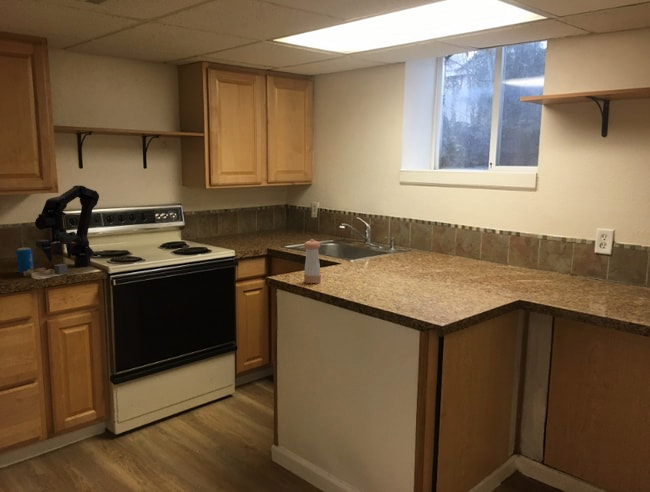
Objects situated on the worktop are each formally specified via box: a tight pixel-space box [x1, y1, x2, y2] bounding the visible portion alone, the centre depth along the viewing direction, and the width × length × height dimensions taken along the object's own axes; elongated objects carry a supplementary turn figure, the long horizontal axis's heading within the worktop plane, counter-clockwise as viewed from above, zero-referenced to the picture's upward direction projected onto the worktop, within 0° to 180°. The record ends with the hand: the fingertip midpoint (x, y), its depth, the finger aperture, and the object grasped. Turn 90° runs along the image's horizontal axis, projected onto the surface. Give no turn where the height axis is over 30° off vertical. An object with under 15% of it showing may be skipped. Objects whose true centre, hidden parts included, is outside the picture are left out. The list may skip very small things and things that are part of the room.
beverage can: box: [16, 247, 35, 274], centre depth 260 cm, size 6×6×12 cm
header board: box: [22, 266, 69, 280], centre depth 255 cm, size 14×13×3 cm
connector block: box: [53, 263, 69, 276], centre depth 257 cm, size 4×4×4 cm
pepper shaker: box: [303, 238, 322, 284], centre depth 242 cm, size 7×7×19 cm
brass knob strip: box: [24, 269, 34, 278], centre depth 251 cm, size 2×5×3 cm, turn 57°
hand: (60, 259), depth 256 cm, fingers open, 9 cm apart
